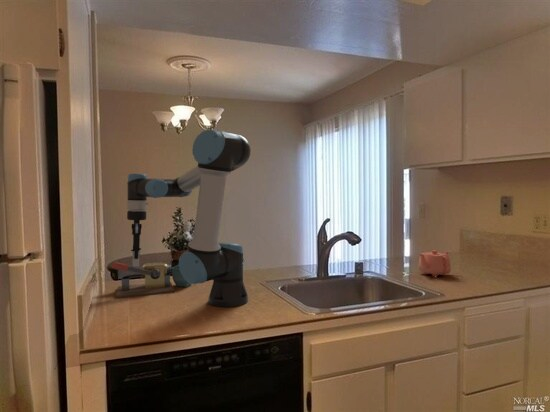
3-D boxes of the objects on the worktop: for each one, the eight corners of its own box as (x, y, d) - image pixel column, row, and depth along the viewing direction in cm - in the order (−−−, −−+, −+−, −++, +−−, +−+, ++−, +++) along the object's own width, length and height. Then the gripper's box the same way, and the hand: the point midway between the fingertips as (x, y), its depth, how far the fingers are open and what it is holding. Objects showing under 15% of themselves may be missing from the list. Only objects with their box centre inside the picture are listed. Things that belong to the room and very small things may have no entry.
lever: (158, 280, 155) (161, 271, 155) (110, 269, 148) (114, 260, 149) (158, 279, 157) (161, 270, 157) (111, 268, 150) (114, 259, 151)
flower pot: (189, 288, 162) (188, 268, 162) (170, 287, 164) (170, 268, 164) (197, 283, 171) (196, 264, 170) (179, 282, 172) (179, 264, 172)
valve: (171, 287, 160) (171, 265, 160) (117, 292, 152) (117, 269, 152) (170, 283, 168) (169, 261, 168) (118, 287, 160) (118, 265, 160)
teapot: (418, 277, 181) (418, 252, 180) (418, 270, 196) (418, 247, 196) (451, 279, 175) (451, 253, 175) (449, 272, 190) (449, 248, 190)
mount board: (174, 292, 156) (174, 289, 156) (116, 298, 148) (116, 295, 148) (170, 283, 171) (170, 281, 171) (117, 288, 163) (117, 286, 163)
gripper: (146, 211, 147) (145, 268, 148) (145, 209, 160) (144, 262, 161) (127, 211, 145) (126, 269, 146) (127, 209, 157) (126, 263, 158)
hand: (135, 265), depth 153 cm, fingers closed
